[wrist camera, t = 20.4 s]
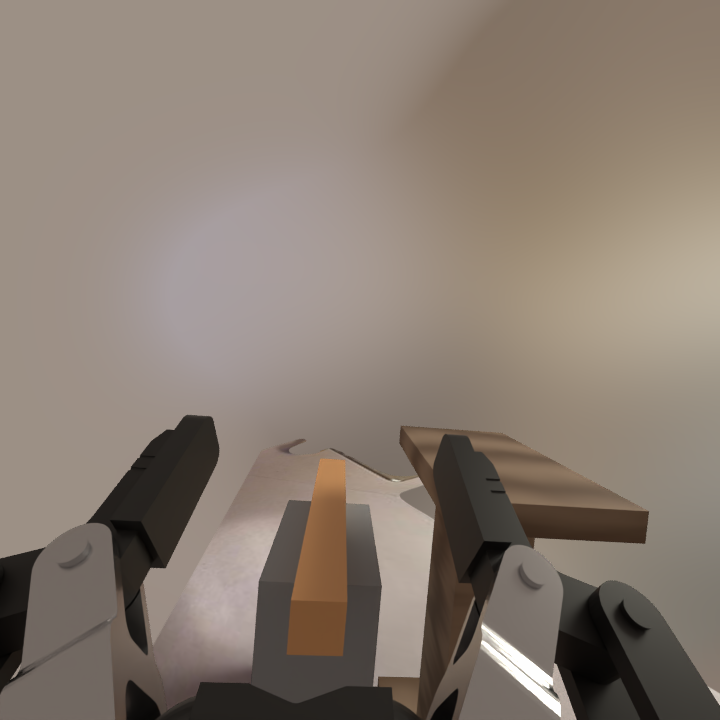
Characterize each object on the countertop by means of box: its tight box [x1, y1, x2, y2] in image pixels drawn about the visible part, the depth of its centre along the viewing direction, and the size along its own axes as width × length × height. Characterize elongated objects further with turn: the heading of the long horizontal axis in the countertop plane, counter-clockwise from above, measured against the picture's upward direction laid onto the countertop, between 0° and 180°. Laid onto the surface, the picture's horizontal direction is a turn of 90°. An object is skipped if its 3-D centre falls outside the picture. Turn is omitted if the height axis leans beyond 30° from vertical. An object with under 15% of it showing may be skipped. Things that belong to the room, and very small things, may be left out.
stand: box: [378, 426, 649, 720], centre depth 27 cm, size 17×12×32 cm
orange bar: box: [287, 459, 347, 656], centre depth 31 cm, size 24×4×4 cm, turn 3°
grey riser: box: [251, 500, 382, 703], centre depth 31 cm, size 13×10×21 cm
